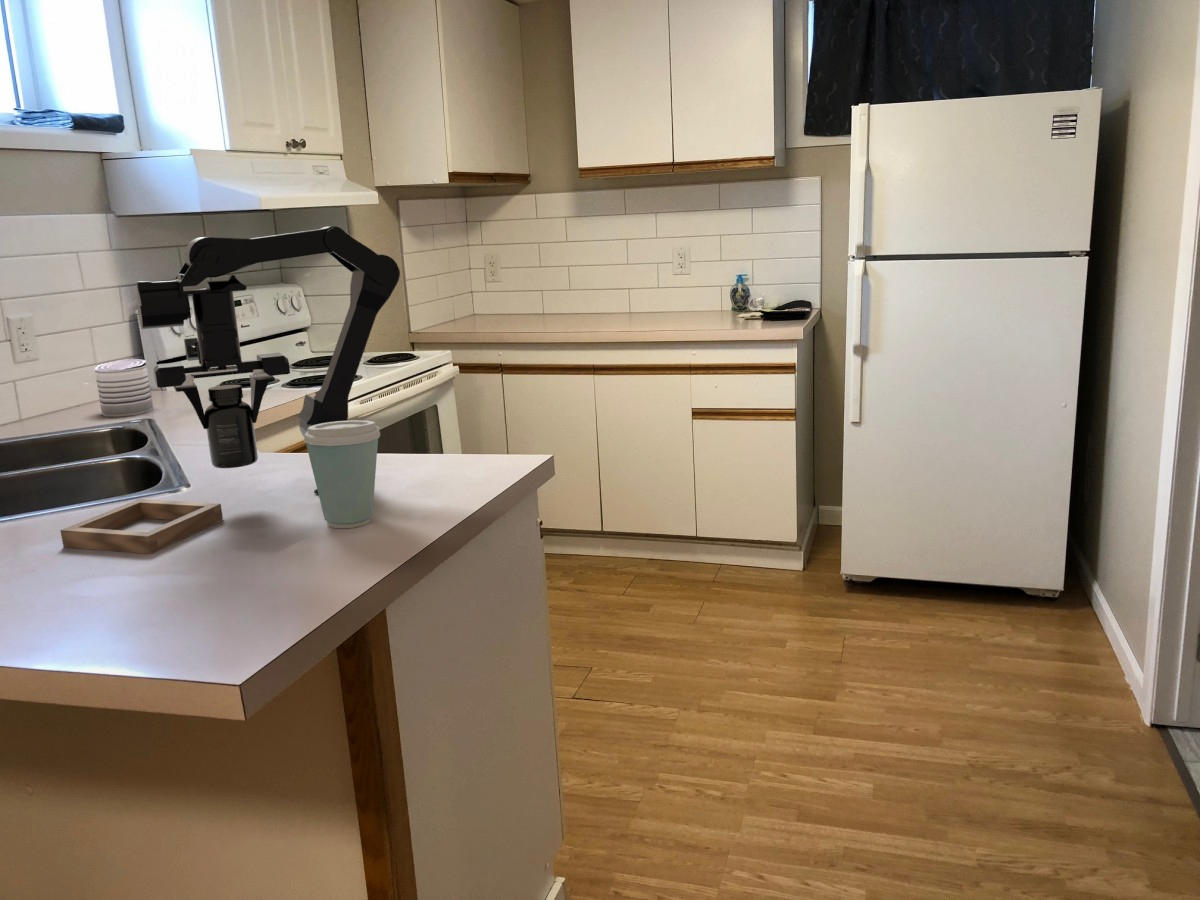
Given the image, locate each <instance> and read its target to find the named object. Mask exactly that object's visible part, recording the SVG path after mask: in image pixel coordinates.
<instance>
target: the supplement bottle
mask: <svg viewBox="0 0 1200 900" xmlns="http://www.w3.org/2000/svg"><path fill="white" fill-rule="evenodd" d="M207 391H208V392H207V393H208V401H209V402H210V405H209V406H208V407H207V406H206V407H207V408H206V409H205V410H204V415H205V418H206V425H207V429H206V435H207V442H208V447H209V455H210V461H211V465H212V466H213V468H216V469H235V468H236V469H237V468H243V467H246V466H251V465H253V464H255V463H257V461H258V459H259V455H258V447H257V440H256V432H255V423H253V416H252V409H251V405H249V403H247V402H246V401H243V398H244V393H243V388H242V385H240V384H226V385H217V386H212V387H209V388H208V390H207Z"/></svg>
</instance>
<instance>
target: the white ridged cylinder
mask: <svg viewBox="0 0 1200 900" xmlns="http://www.w3.org/2000/svg"><path fill="white" fill-rule="evenodd" d="M146 362H147V360H145V359H139V358H132V359H131V358H130V359H121V360H114V361H110V362H107V363H102V364H99V365H96V366H95V367H94V368H92V369H93V371H94V374H95V379H96V380H95V381H96V385H97V391H98V398H99V403H100V410H101V416H102V415H103V416H104V417H106V418H107V417H109V418H111V417H112V418H113V417H115V418H116V417H117V418H119V417H128V416H129V417H130V416H136V415H141V414H146V413H149V412H150V411H153V410H154V406H153V400H152V393H151V387H150V381H149V380H150V379H149V374H148V366H147V364H145V363H146Z"/></svg>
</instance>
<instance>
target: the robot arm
mask: <svg viewBox="0 0 1200 900" xmlns="http://www.w3.org/2000/svg"><path fill="white" fill-rule="evenodd" d="M326 253H327V254H328V255H330V256H331V257H332V258H333V259H335V261H337V262H338V263H339V264H340V265H342V266H343V268H345V269H347V270H348V271H349V272H350V273H351V278H350V279H351V280H350V285H349V286H350V288H349V289H350V290H349V291H350V292H349V294H350V296H349V298H350V299H349V307H348V310H347V313H346V316H345V318H344V322H343V324H342V328H341V331H340V333H339V336H338V339H337V342H336V345H335V346H334V347H335V348H334V350H333V353H332V356H331V359H330V361H329V365H328V368H327V371H326V373H325V374H326V375H325V377H324V380H323V382H322V385H321V387H320V388H319V390H318V391H317V393H316V394H315V395H314V396H311V395H309V394H305V395H304V399H303V405H302V408H301V410H300V412H299V414H298V415H297V419H299V431H300V433H301V435H302V436H303V437H304V435H305V434H306V432H307V429H308V428H309V427H310V426H313V425H317V424H321V423H328V422H335V421H349V397H350V393H351V390H352V388H353V384H354V381H355V378H356V375H357V373H358V369H359V367H360V364H361V361H362V358H363V355H364V353H365V350H366V347H367V343H368V341H369V338H370V335H371V332H372V329H373V326H374V324H375V321H376V318H377V316H378V313H379V312H380V310H381V309H382V308H383V307H384V306H385V304H386V303H387V302H388V300H389V299H390V297H391V296H392V293H393V292H394V290H395V288H396V286H397V285H398V283H399V281H400V276H401V271H400V267H399V266H398V263H397V262H396V261H395V260H394V259H393V257H390V256H389V255H386V254H383V253H382V254H378V253H376V252H375V251H374V250H372V249H371V248H369V247H368V246H367V245H364V244H363V243H361V242H360V241H358V240H357V239H355V238H353V237H352V236H351V235H349V234H348V233H347V232H346V231H345V230H344V229H342V228H341V227H339V226H334V225H333V226H327V225H326V226H323V227H321V228H318V229H312V230H311V229H310V230H302V231H296V232H289V233H282V234H281V233H280V234H274V235H273V234H272V235H268V236H267V235H266V236H259V237H252V238H240V237H239V238H238V237H237V238H236V237H234V238H233V237H231V238H230V237H213V236H212V237H207V236H202V237H196V238H193V239H192V240H191V241H189V243H188V244H187V246H186V247H185V249H184V261H185V262H184V263H183V265H182V267H181V268H180V270H179V272H178V273H176V276H175V278H174V280H163V281H162V280H161V281H148V280H143V281H142V280H141V281H140V280H139V281H136V282H135V286H136V298H137V303H136V308H137V314H138V320H139V325H140V328H141V330H153V329H162V328H174V327H184V325H185V321H187V320H188V319H191V318H192V317H191V316H192V315H191V314H192V313H191V305H190V299H189V295H191V298H192V306H193V313H194V321H195V327H196V328H195V329H196V336H197V337H189V338H184V340H183V341H184V349H185V356H186V360H187V361H188V362H189V361H198V364H199V365H194V366H185V367H184V364H183V362H180V361H179V362H168V363H159V364H156V365H155V366H154V368H153V375H154V383H155V385H156V387H157V388H159V389H161V388H162V389H163V388H170V387H173V389H174V391H175V392H177V393H180V392H183V393H184V394H185V396H186V398H187V400H189V402H190V404H191V405H192V407H193V409H194V411H195V414H196V416H197V417H198V420H199V421H200V422H199V423H200V424H201V427H202V428H203V429H204V430H207V425H206V418H205V410H204V407H203V404H202V400H201V396H200V393H199V389H198V386H197V385H196V383H195V379H203V378H210V377H212V378H214V377H222V376H231V375H232V376H233V375H241V374H250V373H251V374H250V375H249V383H250V407H251V409H252V416H253V423H254V424H255V423H256V422H257V421H258V415H259V414H260V413H259V411H260V408H261V405H262V402H263V398H264V395H265V392H266V390H267V388H268V385H269V383H272V382H275V381H276V378H275V376H282V375H283V376H284V375H289V374H291V369H290V368H291V367H290V361H289V358H288V357H286V356H285V355H283V354H282V353H280V352H270V353H262V354H256V359H252V360H242V355H241V354H242V353H241V345H240V337H239V329H238V322H237V316H236V308H235V307H236V306H235V299H234V292H239V291H240V292H241V291H246V290H247V286H246V285H245V284H244V283H242V282H240V280H239V279H237V277H236V275H234V274H230V273H233V272H236V271H240V270H241V269H244V268H246V267H247V268H248V267H249V266H252V265H255V264H260V263H266V262H272V261H280V260H284V259H285V260H286V259H292V258H299V257H305V256H313V255H319V254H326ZM228 274H229V275H228ZM224 275H228V277H227V278H226V279H223V280H210V281H209V280H207V281H206V282H205V287H204V288H194V289H193V288H192V289H184V287H185V288H187V287H197V286H198V285H200V284H201V283H202V282H203V281H205V280H206V279H207V278H218V277H221V276H224ZM314 494H317V495H319V494H318V490H317V488H316V489H314Z"/></svg>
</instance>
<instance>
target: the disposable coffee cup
mask: <svg viewBox="0 0 1200 900" xmlns="http://www.w3.org/2000/svg"><path fill="white" fill-rule="evenodd" d="M380 437H381V432H380V427H379V426H377V424H376V422H375V421H372V420H357V419H356V420H355V419H351V420H347V421H335V422H328V423H321V424H317V425H313V426H310V427H309V428H308V429H307V432H306V434H305V435H304V436H303V439H304V440H303V442H305V445H306V449H307V453H308V457H309V462H310V466H311V469H312V470H311V471H312V474H313V478H314V481H315V486H316V489H317V490H318V494H317V495H318V499H319V501H320V506H321V510H322V514H323V519H324V521H326V524H327V526H329V527H331V528H335V529H352V528H353V529H354V528H357V527H362V526H363V527H364V526H365V525H367V524H370V523H371V520H372V517H373V513H374V497H375V486H376V475H377V474H376V472H377V471H376V469H377V456H378V447H379V446H378V445H379V444H378V443H379V442H378V441H379V438H380Z"/></svg>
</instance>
